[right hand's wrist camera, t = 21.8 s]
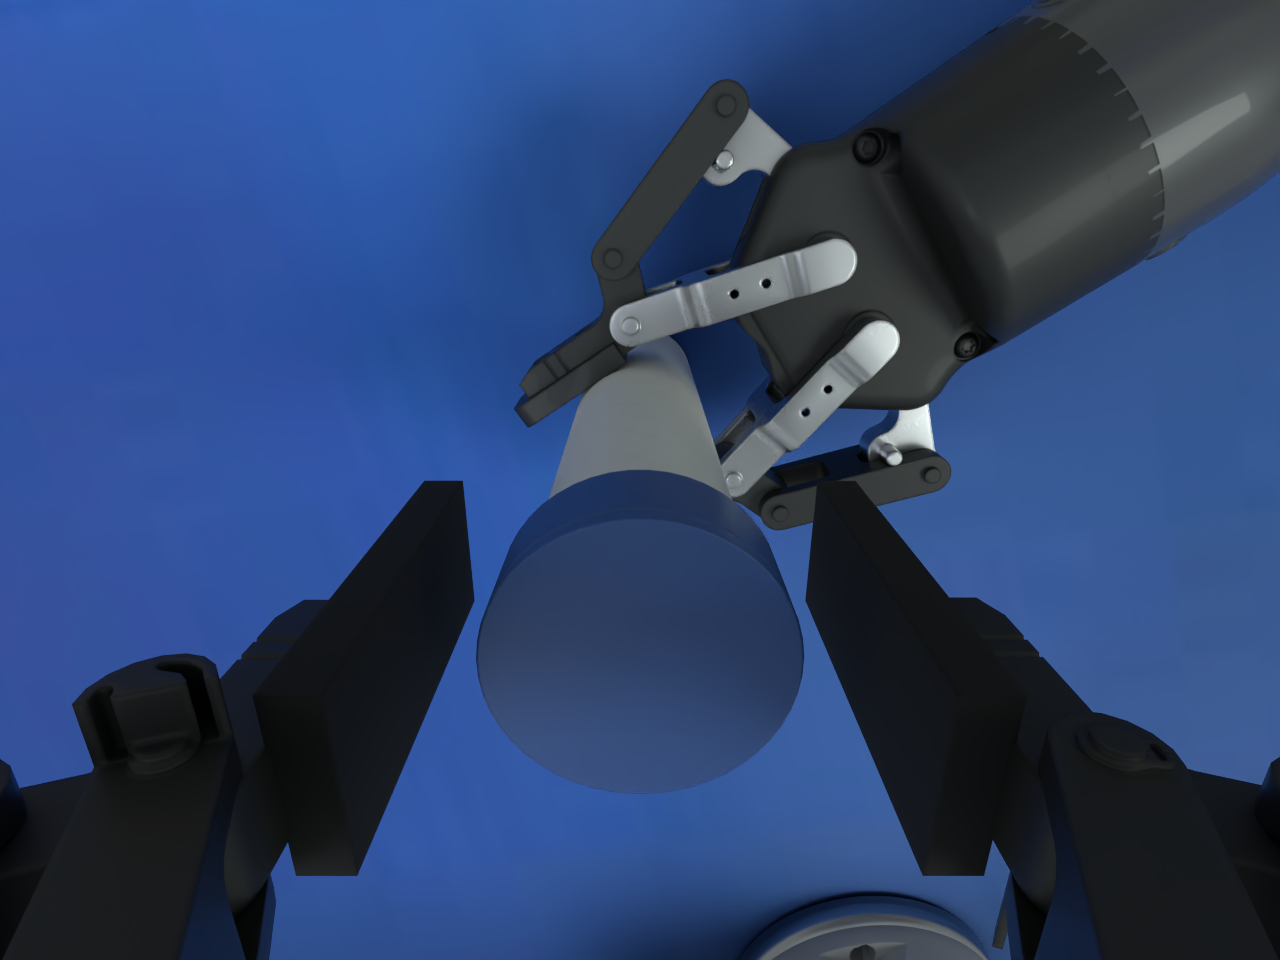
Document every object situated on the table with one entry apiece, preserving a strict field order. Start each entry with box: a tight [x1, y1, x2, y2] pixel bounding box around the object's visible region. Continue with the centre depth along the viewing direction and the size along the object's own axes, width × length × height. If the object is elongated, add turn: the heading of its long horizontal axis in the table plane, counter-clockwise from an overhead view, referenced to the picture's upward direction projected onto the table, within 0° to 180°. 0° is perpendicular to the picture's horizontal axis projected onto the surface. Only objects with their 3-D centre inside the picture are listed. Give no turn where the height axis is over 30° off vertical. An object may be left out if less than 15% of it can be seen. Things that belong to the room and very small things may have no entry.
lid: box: [476, 470, 804, 794], centre depth 11 cm, size 5×5×2 cm
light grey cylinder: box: [548, 336, 732, 500], centre depth 20 cm, size 4×4×18 cm
